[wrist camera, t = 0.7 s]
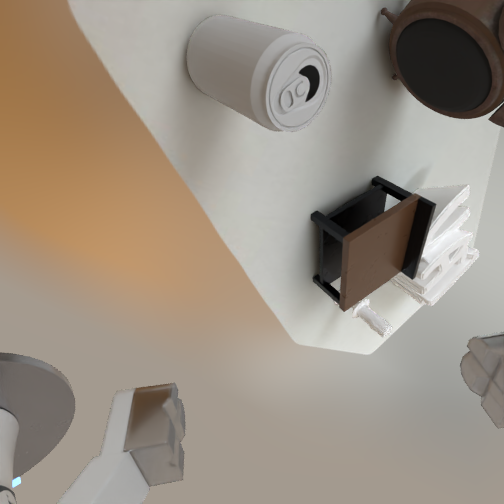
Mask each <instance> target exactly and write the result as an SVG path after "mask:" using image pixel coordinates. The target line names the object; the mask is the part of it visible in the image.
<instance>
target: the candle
mask: <svg viewBox="0 0 504 504" xmlns="http://www.w3.org/2000/svg"><path fill="white" fill-rule="evenodd" d="M339 293H340V291H339ZM334 303H335V304H336V305H339V304H337V303H336V302H335V301H334ZM369 304H370V301H369V300H368V299H366V300H363V301H360V302H358V303H356V304H355V305H353V306H352V308H353V312H352V318H357V317H359V316H360V317H361V318H362V319H363V320H364V321H365V322H366V323H367V324H369V326H370V328H371V329H373V330H375V331H376V332H377V333H378V334H379V335H380V336H382V337H385V336H387V335H391V334H390V332H391V330H392V326H391V325H390V324H389V323H388V322H387V321H386V320H385V319H384V318H381V317H380V316H379V315H377V314H376V313H375V312H374V311H373V310H372V309H370V308H369V307H368V306H369Z"/></svg>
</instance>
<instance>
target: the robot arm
mask: <svg viewBox="0 0 504 504" xmlns="http://www.w3.org/2000/svg"><path fill="white" fill-rule="evenodd" d="M467 347H468V348H469V350H470V351H469V352H468V353H467V354H465V355H464V356H463V358H462V361H461V364H460V367H461V374H462V376H463V378H464V381H465V383H466V384H467V386H468V387H469V389H470V390H471V391H473V392H474V393H476V394H478V395H479V396H481V406H482V407H483V409H484V410H485V411H486V413H487V414H488V416H489V417H490V418H491V420H492V421H493V423H494V424H495V426H496V427H497V428H504V332H500V333H494V334H489V335H483V336H477V337H473V338H472V339H470V340H469V343H468V345H467ZM184 413H185V412H184V407H183V403H182V400H180V399H179V398H178V389H177V386H176V384H175V383H170V384H163V385H156V386H148V387H141V388H132V389H125V390H119V391H116V393H115V395H114V397H113V400H112V404H111V408H110V413H109V417H108V422H107V426H106V430H105V434H104V438H103V443H102V447H101V451H100V455H99V456H96V457H93V458H92V459H91V461H90V462H89V463H88V464H87V466H86V467H85V468H84V469H83V471H82V472H81V473H80V474H79V476H78V477H77V478H76V479H75V481H74V482H73V483H72V485H71V486H70V487H69V488H68V490H67V491H66V492H65V493H64V494H63V496H62V497H61V498H60V500H59V501H58V502H57V503H56V504H142V503H143V501H144V499H145V497H146V495H147V493H148V492H149V490H150V488H149V487H150V486H155V485H160V484H165V483H171V482H176V481H181V480H183V469H184V451H183V448H182V446H181V443H180V442H181V441H182V439H183V438H184V436H185V414H184ZM18 432H19V424H18V421H17V419H16V418H15V417H14V416H13V415H12V414H11V413H9V412H8V411H6V410H3V409H0V504H16V499H15V494H14V492H13V487H14V486H16V485H18V484H19V483H21V481H20V477H18V478H16V479H14V480H13V462H14V452H15V445H16V440H17V436H18Z"/></svg>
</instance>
